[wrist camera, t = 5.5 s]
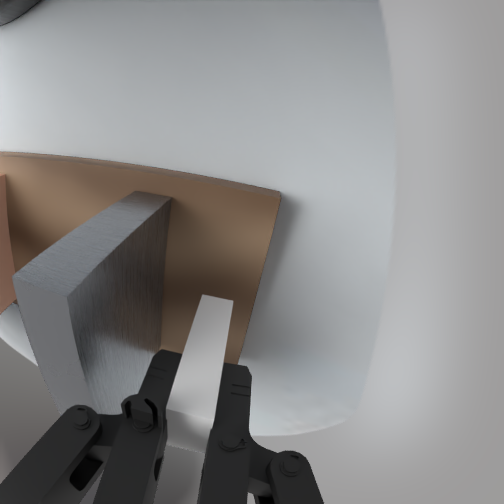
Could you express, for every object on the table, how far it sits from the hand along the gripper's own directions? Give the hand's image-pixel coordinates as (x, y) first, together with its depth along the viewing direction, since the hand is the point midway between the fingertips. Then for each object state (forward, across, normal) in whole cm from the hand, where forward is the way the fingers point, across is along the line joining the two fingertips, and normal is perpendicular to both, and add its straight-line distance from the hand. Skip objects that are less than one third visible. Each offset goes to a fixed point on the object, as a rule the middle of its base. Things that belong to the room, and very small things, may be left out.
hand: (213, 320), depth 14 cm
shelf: (+4, -9, 0) cm, 9 cm away
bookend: (+2, -4, 0) cm, 5 cm away
